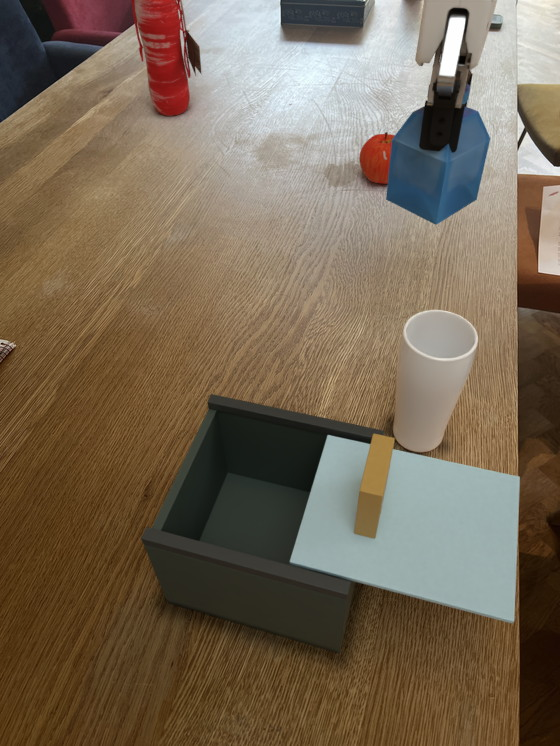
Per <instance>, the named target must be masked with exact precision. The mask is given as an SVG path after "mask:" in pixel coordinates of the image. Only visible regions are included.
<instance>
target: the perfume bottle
mask: <svg viewBox="0 0 560 746" xmlns="http://www.w3.org/2000/svg"><path fill="white" fill-rule="evenodd" d="M471 73H472V70H471V71H470V70H469V71H468V76H467V81H466V87H465V92H464V97H463V102H462V104H465V103H466V102H467V101H468V102H469V98H470V94H471V93H470V92H471V86H469V85H468V84H467V83H468V80H469V78H470V75H471ZM460 76H461V73H458V72H456V79H455V80H458V82H459V81H460ZM429 88H430V84H429V85H428V89H427V96H426V98H427V99H428V94H429ZM468 102H467V103H468ZM423 113H424V106H422V107H420V108H418V109H416V110H414V111H412V113H411V114H410V115H408V117H407V119H406V120H405V121H404V123H403V124H402V125H401V127H400V128H399V130H398V131H397V132H396V134H394V135H395V136H394V137H393V139H392V146H391V156H390V165H389V175H388V184H386V195H385V200H386V201H388V202H390V203H392V204H393V205H396V206H397V207H400V208H402V209H404V210H405V211H408V212H409V213H411V214H413V215H416V216H418V217H419V218H421V219H423V220H426V221H427V222H430V223H431V224H433V225H435V226H437V225H439V224H440V223H442V222H444V221H445V220H446V219H448V218H450V217H451V216H453V215H455V214H456V213H458V212H460V211H461V210H463V209H464V208H466V207H468V206H469V205H471V204H472V203H474V202H475V201H477V200H478V196H479V191H480V188H481V183H482V178H483V173H484V168H485V166H486V160H487V156H488V151H489V147H490V142H491V137H490V134H489V132H488V129H487V127H486V125H485V123H484V121H483V119H482V116H481V114H480V112H479V110H476V109H474V108H471V107H468V106H467V107H465V109H464V115H463V120H462V125H461V131H460V136H459V141H458V147H457V150H456V151H455V152H454V153H452V152H451V149H450V146H449V144H447V145H446V146H445V147H444V148H443V149H441V150H440V151H431V150H423V149H421V148H420V147H419V142H420V135H421V128H422V121H423Z"/></svg>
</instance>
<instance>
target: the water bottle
mask: <svg viewBox="0 0 560 746" xmlns="http://www.w3.org/2000/svg"><path fill="white" fill-rule="evenodd" d="M130 2H131V7H132V8H131V9H132V15H133V22H134V27H135V32H136V38H137V41H138V46H139V47H138V51H139V55H140V59H141V62H144V58H145V65H146V66H145V67H146V74H147V83H148V91H149V95H150V100H151V103H152V105H153V106H154V109H155V110H156V111H157V112H158V113H159V114H160V115H162V116H168V117H173V116H178V115H181V114H184V113H185V112H186V111H187V110H188V108H189V104H190V99H191V98H190V97H191V96H190V87H189V79H191V68H192V71H193V73H194V76H195V77H197V73H196V71H198V72H199V73H200V74H201V75H202V63H201V62H202V61H201V50H200V45H199V44H198V43H197V41H196V40H195V39H194V37H193V36H192V35H191V34H190V30H189V29H187V23H186V16H185V10H184V6H183V5H184V4H183V0H130ZM181 31H182V37H183V47H182V41H181ZM143 53H144V54H143ZM190 66H191V68H190ZM188 78H189V79H188Z"/></svg>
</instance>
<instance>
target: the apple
mask: <svg viewBox="0 0 560 746" xmlns="http://www.w3.org/2000/svg"><path fill="white" fill-rule="evenodd" d="M395 135H396V134H390V133H389V132H388V131H386V132H384V133H378V134H374V135H372V136H371V137H370V138H369V139H367V140H366V141H365V143H364V144H363V145H362V147H361V149H360V152H359V158H358V159H359V166H360V168H361V171H362V172H363V174H364V175H365V176H366V178H367V179H368V180H369V181H370V182H371V183H376V184H383V185H384V184H385V185H388V175H389V165H390V156H391V146H392V139H393V137H394V136H395Z"/></svg>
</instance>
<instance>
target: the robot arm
mask: <svg viewBox="0 0 560 746" xmlns="http://www.w3.org/2000/svg"><path fill="white" fill-rule="evenodd" d="M497 2H498V0H423V5H422V11H421V18H420V26H419V31H418V40H417V46H416V52H415V57H414V60H415V63H416V64H417V66H418V67H423V66H424V64H430V63H431V61H432V60H433V63H432V71H431V77H430V82H429V85H430V88H429V87H428V89H429V94H428V93H427V96H428V98H427V100H426V99H425V102H424V106H423V107H424V113H423V121H422V128H421V135H420V142H419V147H420V148H421V149H423V150H431V151H440V150H441V149H443V148H444V147H445V146H446V145H447V144H449V146H450V149H451V152H452V153H454V152H455V151H456V150H457V147H458V141H459V136H460V131H461V125H462V120H463V115H464V109H465V107H468V102H469V100H468V101H467V102H466V103H465V104H462V102H463V97H464V92H465V87H466V81H467V76H468V71H469V70H470V71H471V75H470V78H469V80H468V83H467V84H468V85H469V86H470V87H471V86H472V80H473V75H474V73H473V72H472V70H473V69H475V68H476V67H478V66H479V63H480V60H481V57H482V54H483V50H484V48H485V45H486V42H487V38H488V35H489V32H490V28H491V25H492V21H493V17H494V14H495V10H496V5H497ZM433 57H434V58H433ZM456 72H458V73H461V76H460V81H459V82H458V80H455V79H456Z"/></svg>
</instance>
